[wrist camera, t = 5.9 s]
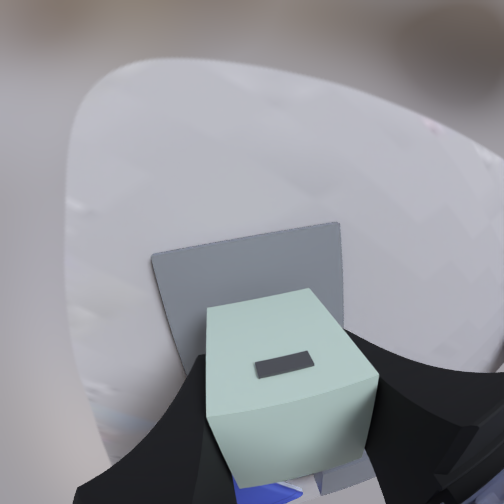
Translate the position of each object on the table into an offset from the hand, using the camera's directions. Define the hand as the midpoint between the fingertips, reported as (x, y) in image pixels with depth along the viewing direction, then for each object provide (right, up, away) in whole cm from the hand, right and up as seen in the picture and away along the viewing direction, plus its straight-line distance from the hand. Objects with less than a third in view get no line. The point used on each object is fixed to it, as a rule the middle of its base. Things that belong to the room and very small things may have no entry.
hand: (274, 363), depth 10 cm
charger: (0, 0, +2) cm, 2 cm away
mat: (0, +1, +3) cm, 3 cm away
